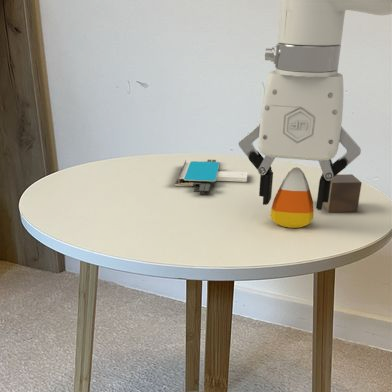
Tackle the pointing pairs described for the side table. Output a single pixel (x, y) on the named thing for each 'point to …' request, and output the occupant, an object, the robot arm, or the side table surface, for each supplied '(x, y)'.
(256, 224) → the side table surface
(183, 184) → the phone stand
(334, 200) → the walnut block
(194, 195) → the side table surface
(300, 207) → the candy corn
